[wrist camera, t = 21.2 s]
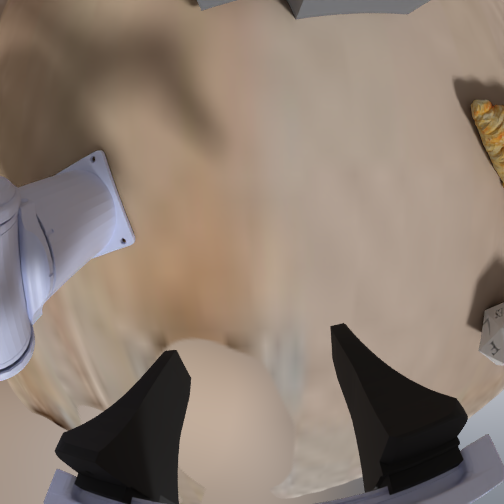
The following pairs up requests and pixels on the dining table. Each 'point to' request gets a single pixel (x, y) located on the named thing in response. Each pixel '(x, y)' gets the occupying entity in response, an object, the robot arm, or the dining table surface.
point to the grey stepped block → (337, 6)
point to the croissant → (491, 131)
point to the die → (493, 334)
